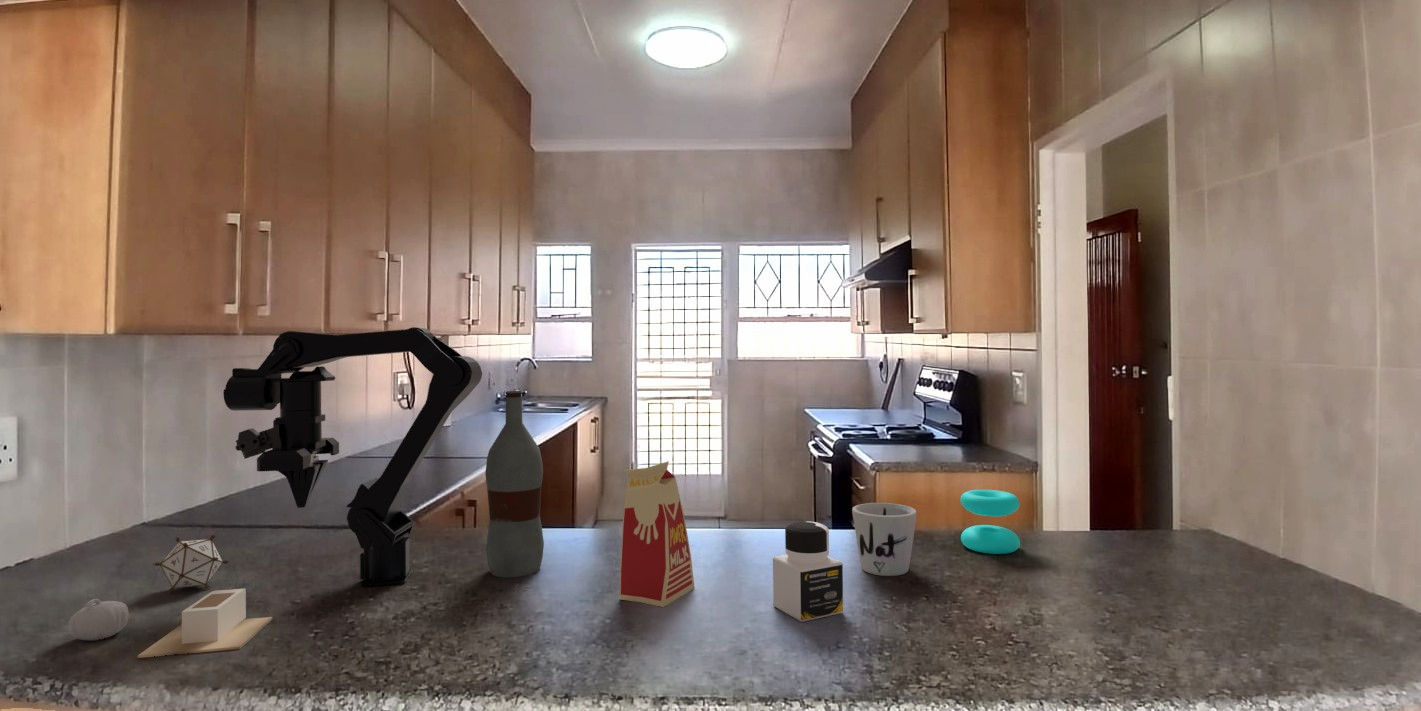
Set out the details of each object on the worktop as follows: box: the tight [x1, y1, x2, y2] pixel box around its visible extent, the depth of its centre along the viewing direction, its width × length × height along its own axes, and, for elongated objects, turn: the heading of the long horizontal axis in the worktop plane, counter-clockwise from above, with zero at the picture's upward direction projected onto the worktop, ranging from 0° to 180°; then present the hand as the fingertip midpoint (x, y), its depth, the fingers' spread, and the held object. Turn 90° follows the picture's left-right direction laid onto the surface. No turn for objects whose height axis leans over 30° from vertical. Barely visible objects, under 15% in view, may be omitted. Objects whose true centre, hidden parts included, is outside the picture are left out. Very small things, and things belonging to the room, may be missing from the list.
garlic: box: [67, 598, 130, 641], centre depth 90 cm, size 6×5×5 cm
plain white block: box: [181, 588, 247, 644], centre depth 92 cm, size 4×4×8 cm
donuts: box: [960, 489, 1021, 555], centre depth 127 cm, size 10×10×10 cm
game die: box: [152, 533, 230, 594], centre depth 109 cm, size 9×8×10 cm
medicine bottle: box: [772, 520, 844, 623], centre depth 97 cm, size 7×7×12 cm
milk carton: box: [618, 461, 695, 608], centre depth 105 cm, size 9×9×20 cm
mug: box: [851, 502, 918, 577], centre depth 117 cm, size 10×15×10 cm
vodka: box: [484, 390, 545, 579], centre depth 117 cm, size 9×9×30 cm
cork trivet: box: [137, 616, 273, 659], centre depth 90 cm, size 11×10×1 cm
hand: (301, 507), depth 112 cm, fingers closed
